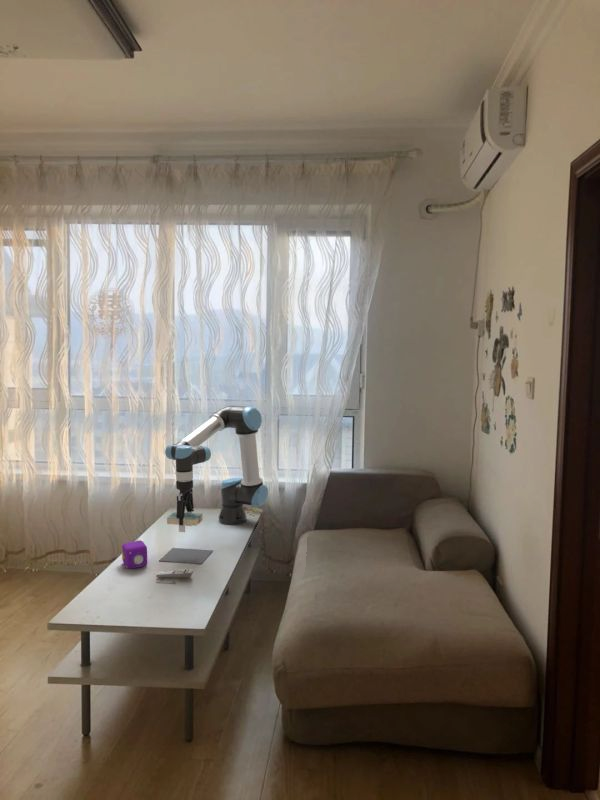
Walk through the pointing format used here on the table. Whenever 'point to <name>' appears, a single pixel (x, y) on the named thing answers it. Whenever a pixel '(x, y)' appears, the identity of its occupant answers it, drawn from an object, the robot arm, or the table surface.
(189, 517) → the tile
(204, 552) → the mat
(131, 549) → the toy camera
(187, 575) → the table surface
